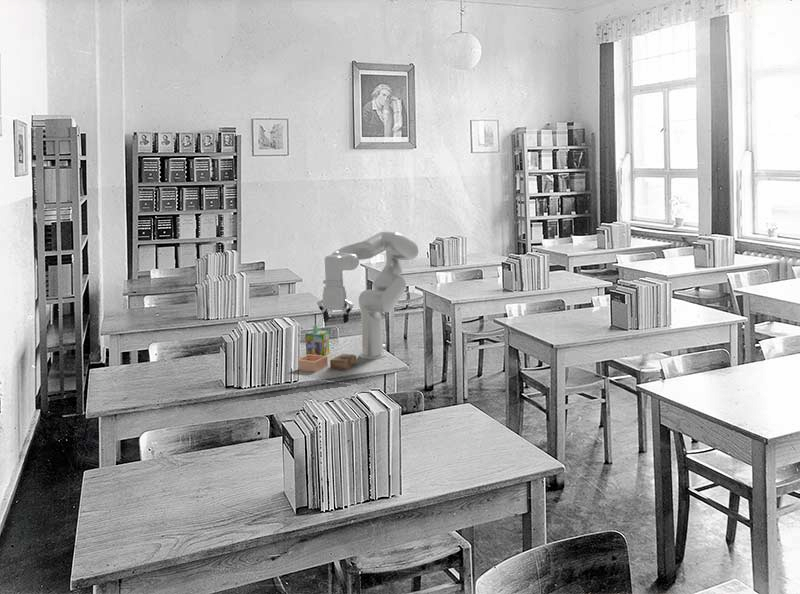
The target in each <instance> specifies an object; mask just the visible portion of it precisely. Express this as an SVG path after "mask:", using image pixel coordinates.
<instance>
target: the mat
mask: <svg viewBox="0 0 800 594" xmlns="http://www.w3.org/2000/svg"><path fill="white" fill-rule="evenodd" d="M361 363H362V362H361ZM361 363H360V362H356V364H355V365H353V366H352V367H350V368H348V369H346V370H337V369H331V368H330V367H328V368H326V369H325V370H329V371H336V372H348V371H350V370H352V369H353V368H355V367H357V366H358V365H360V364H361Z"/></svg>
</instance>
